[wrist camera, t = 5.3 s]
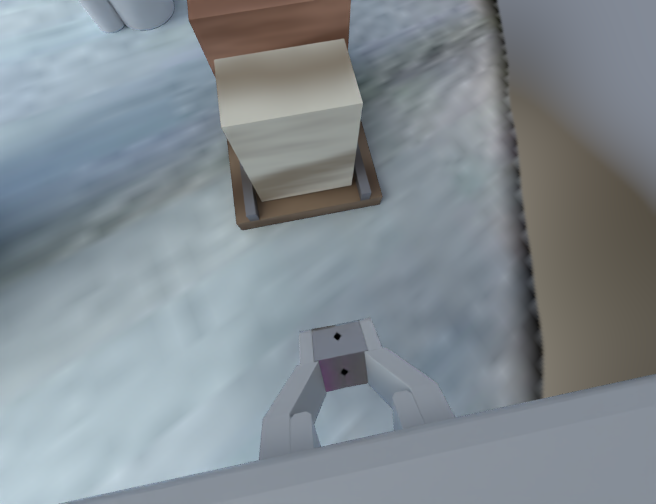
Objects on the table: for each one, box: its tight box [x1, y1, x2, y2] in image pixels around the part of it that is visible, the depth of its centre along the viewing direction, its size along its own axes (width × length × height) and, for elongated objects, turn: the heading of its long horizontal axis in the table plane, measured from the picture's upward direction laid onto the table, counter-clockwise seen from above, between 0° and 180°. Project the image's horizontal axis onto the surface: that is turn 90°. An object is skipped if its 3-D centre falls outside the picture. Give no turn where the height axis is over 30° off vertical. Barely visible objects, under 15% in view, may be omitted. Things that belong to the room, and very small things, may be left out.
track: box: [187, 0, 383, 230], centre depth 23 cm, size 18×13×8 cm
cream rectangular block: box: [214, 39, 363, 202], centre depth 20 cm, size 5×8×9 cm, turn 101°
